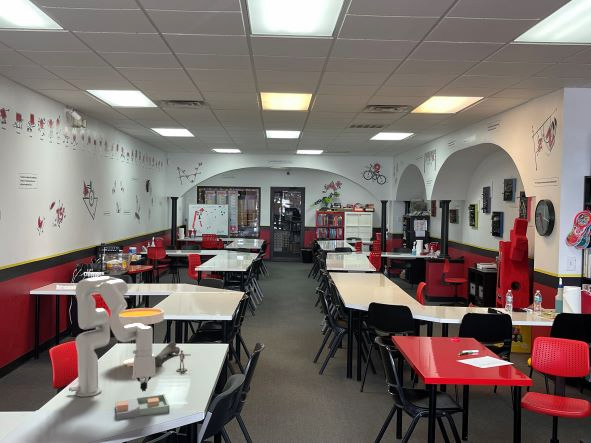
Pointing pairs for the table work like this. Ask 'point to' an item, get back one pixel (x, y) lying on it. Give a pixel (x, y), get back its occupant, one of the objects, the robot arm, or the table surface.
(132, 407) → the deck
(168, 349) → the bone
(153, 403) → the tile far
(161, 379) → the table surface
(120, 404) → the tile near
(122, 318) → the round pedestal stand
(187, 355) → the figurine
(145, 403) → the tray
